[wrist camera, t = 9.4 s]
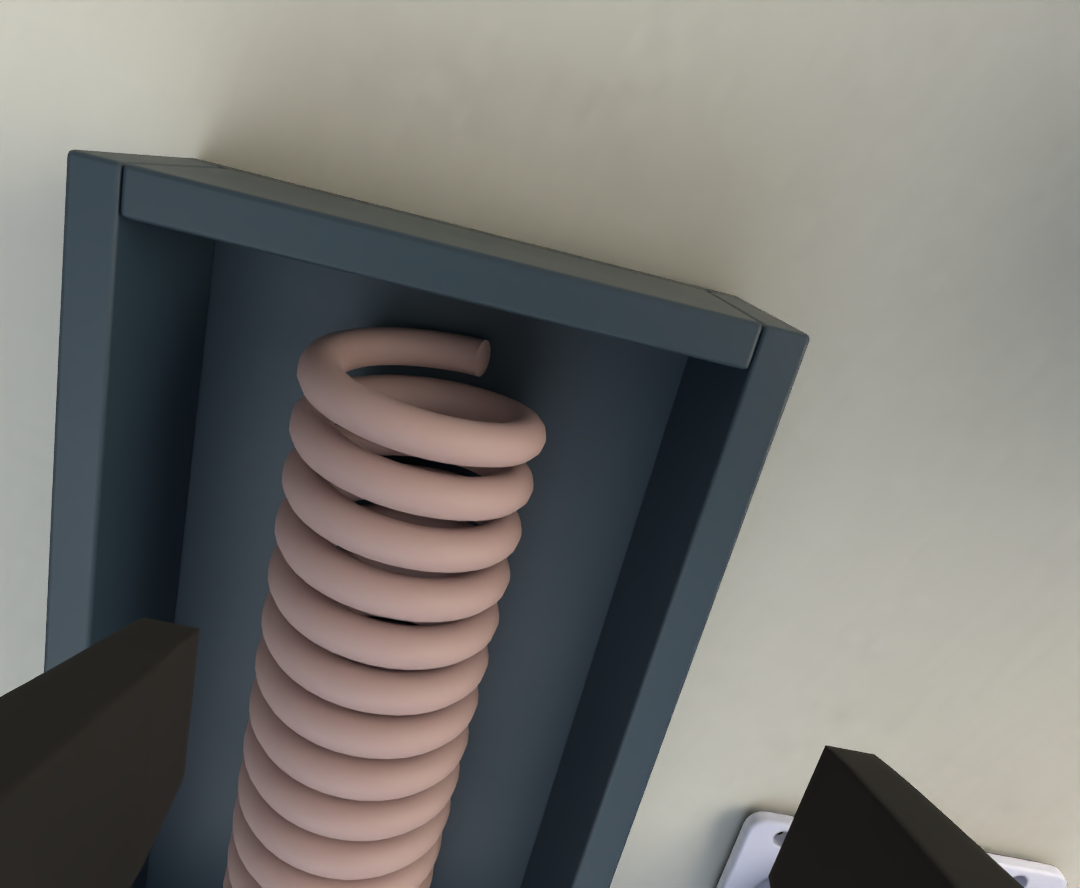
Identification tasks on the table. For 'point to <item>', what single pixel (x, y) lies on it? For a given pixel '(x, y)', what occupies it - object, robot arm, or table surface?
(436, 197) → the table surface
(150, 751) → the robot arm
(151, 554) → the bin
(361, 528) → the coil
